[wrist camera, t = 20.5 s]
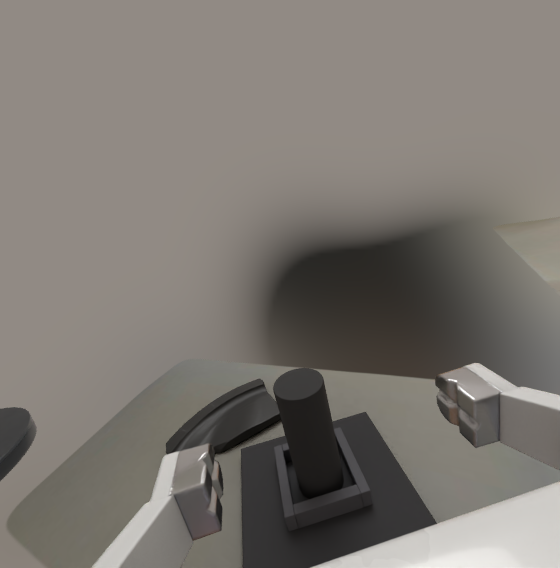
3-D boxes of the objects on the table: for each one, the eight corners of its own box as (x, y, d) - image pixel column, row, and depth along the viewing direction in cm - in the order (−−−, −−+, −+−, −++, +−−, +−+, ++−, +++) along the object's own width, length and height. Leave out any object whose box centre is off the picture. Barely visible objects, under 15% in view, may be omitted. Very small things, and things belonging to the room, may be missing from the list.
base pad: (246, 600, 20) (237, 575, 19) (243, 456, 31) (237, 437, 30) (439, 535, 21) (436, 509, 20) (366, 418, 32) (363, 400, 32)
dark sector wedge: (166, 430, 38) (162, 420, 37) (262, 386, 42) (259, 376, 42) (170, 480, 30) (165, 467, 30) (286, 420, 35) (283, 408, 34)
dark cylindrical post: (307, 510, 23) (280, 407, 21) (292, 470, 27) (268, 378, 24) (352, 490, 24) (331, 387, 21) (331, 453, 28) (312, 362, 25)
